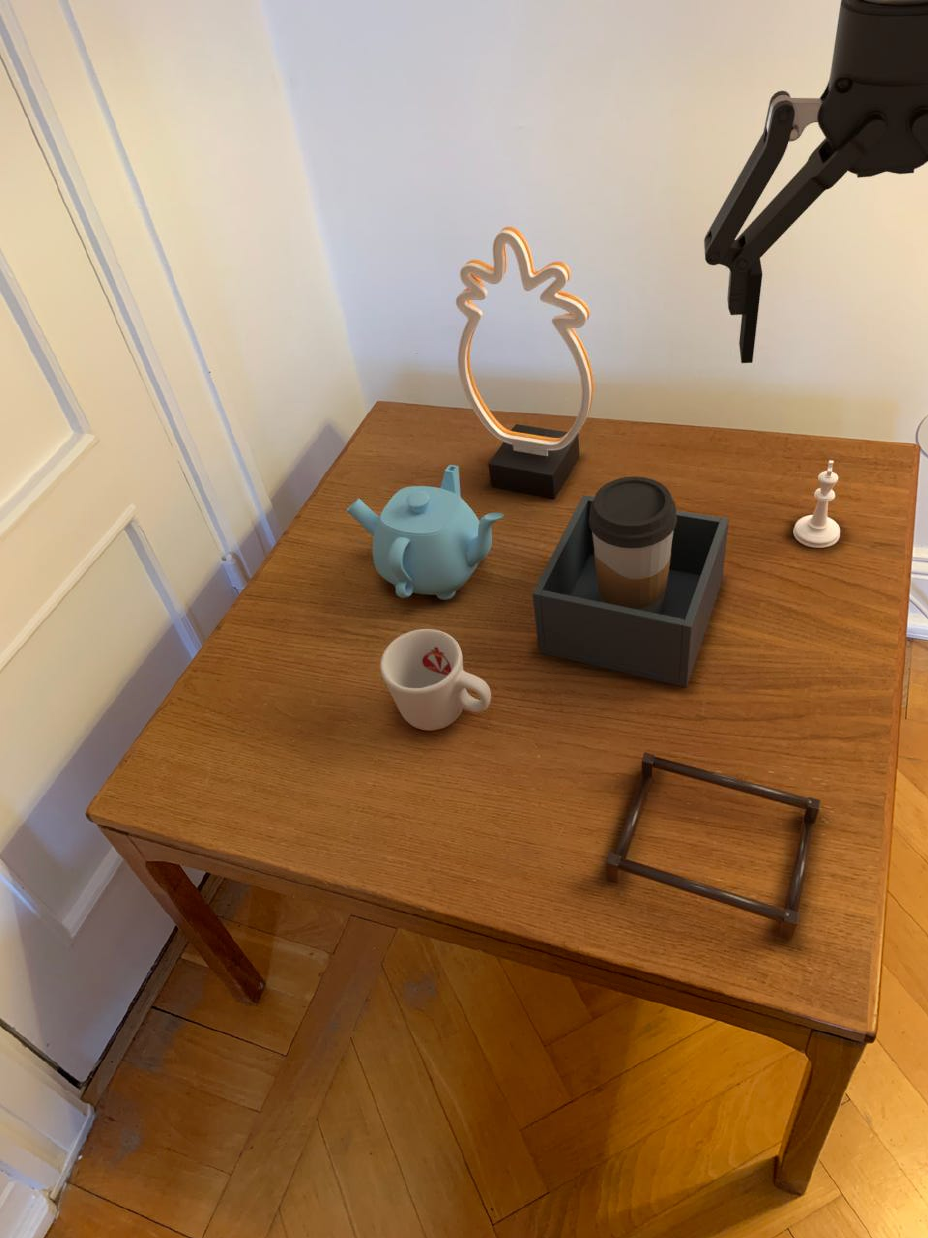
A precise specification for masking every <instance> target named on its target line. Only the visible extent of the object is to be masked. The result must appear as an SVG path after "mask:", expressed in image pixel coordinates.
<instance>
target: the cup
mask: <svg viewBox="0 0 928 1238" xmlns="http://www.w3.org/2000/svg"><path fill="white" fill-rule="evenodd" d="M463 659H464V657H463V652H462V648H461V646H460V645H459V643H458V641H457V640H456V639H455V638H454V637H453V636H451V634H449V633H447V632H444V631H441V630H439V629H433V628H421V629H419V628H418V629H414V630H410V631H408V632H406V633H403V634H401V635H399V636H398V637H396V638H395V639H394V640H392V641H391V643H389V644H388V646H387V647H386V648H385V649H384V651H383V653H382V655H381V658H380V662H379V668H380V669H379V670H380V671H379V672H380V674H381V677H382V680H383V682H384V683H385V686H386V687H387V690H388V692H389V694H390V695H391V697H392V700H393V701H394V703H395V705H396V708H397V709H398V711H399V712H400V714H401V716H402V718H403V719H404V720H405V722H407V723H408V724H409V725H410V726H412V727H413V728H416V729H419V730H421V731H422V730H423V731H429V732H430V731H437V730H441V729H445V728H446V727H448V726H450V725H452V724H453V723H454V722H455V721H457V719H458V718H459V716H460V715H461V714H462V712H463V710H467V711H470V712H474V713H482V712H485V711H486V710H487V709H488V707H489V705H490V704H491V701H492V691H491V689H490V686H489V685H488V683H487V682H486V681H485V680H484V679H482V678H481V677H479V676H477V675H474V674H472V673H469V672H467V671H465V670H464V660H463ZM467 689H468V690H471V691H473V692H475V693H476V694H477V696H479V698H480V699H477V698H475V697H473V696H471V694H470V693H469V692H468V690H467Z"/></svg>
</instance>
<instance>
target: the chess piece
mask: <svg viewBox="0 0 928 1238" xmlns="http://www.w3.org/2000/svg"><path fill="white" fill-rule="evenodd" d="M834 462H835V461H834V460H831V459H830V460H829V461H828V464H827V470H825V471H821V472H820V473H819V474H818V476H817V480H818V484H819V488H817V489H816V490H815V491H814V493H813V496H814V498H815V499H816V500H817V502H816V506H815V508H814V511H813V513H812V514H809V515H805V516H802V517H801V518H799V519H798V520H797V521H796V522H795V524H794V527H793V529H792V530H793V531H792V532H793V536H794V538H795V539H796V540H797V542H799V543H800V544H802V545H804V546H805V547H810V548H813V549H814V548H815V549H823V548H829V547H831V546H834V545H835V544H836V543H837V542H839V540H840V537H841V528H840V525H839V524H838V523H837V522H836V521H835V520H834V519H833V518H831V517H829V516H828V512H829V511H828V510H829V509H828V508H829V502H831V501H833V500H834V499H835V498H836V492H835V491H834V490H833V489H834V486H835V485H836V484H837V483H838V482H839V475H838V474H837V473H836V472H834V471H833V468H834Z"/></svg>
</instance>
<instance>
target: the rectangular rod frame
mask: <svg viewBox="0 0 928 1238" xmlns="http://www.w3.org/2000/svg"><path fill="white" fill-rule="evenodd" d="M656 769H657V770H661V771H664V772H668V773H672V774H674V775H679V776H683V777H686V778H690V779H693V780H696V781H697V780H698V781H701V782H703V783H707V784H712V785H715V786H719V787H722V788H725V789H730V790H733V791H736V792H737V791H738V792H741V793H744V794H748V795H751V796H754V797H759V798H762V799H766V800H769V801H773V802H776V803H780V804H784V805H788V806H791V807H795V808H798V809H802V810H804V812H803V815H802V819H801V825H800V831H799V836H798V841H797V845H796V851H795V856H794V861H793V866H792V870H791V875H790V880H789V885H788V890H787V895H786V900H785V905H784V908H781V907H778V906H774V905H772V904H768V903H766V902H763V901H759V900H756V899H753V898H749V897H746V896H743V895H740V894H737V893H734V892H731V891H728V890H724V889H722V888H719V887H716V886H712V885H710V884H706V883H703V882H701V881H700V882H699V881H697V880H693V879H691V878H688V877H684V876H681V875H678V874H675V873H672V872H669V871H665V870H663V869H659V868H655V867H653V866H650V865H647V864H644V863H641V862H637V861H634V860H631V859H628V858H627V856H628V852H629V850H630V846H631V844H632V840H633V837H634V834H635V831H636V828H637V826H638V822H639V820H640V817H641V813H642V811H643V807H644V804H645V801H646V799H647V795H648V792H649V790H650V787H651V784H652V782H653V780H654V777H655V774H656ZM640 773H641V774H640V778H639V781H638V783H637V787H636V790H635V792H634V796H633V797H632V798H633V799H632V801H631V804H630V807H629V810H628V813H627V815H626V819H625V821H624V824H623V827H622V830H621V833H620V836H619V838H618V841H617V845H616V848H615V850H614V853H613V852H611V851H610V852H609V853H608V856H607V859H606V861H605V862H606V863H605V864H606V865H605V867H606V869H605V871H606V879H607V880H608V881H612V882H615V883H619V881H620V878H621V875H622V872H625V873H628V874H631V875H634V876H637V877H640V878H644V879H647V880H649V881H652V882H656V883H659V884H663V885H666V886H668V887H671V888H674V889H677V890H680V891H684V892H687V893H690V894H693V895H696V896H699V897H702V898H705V899H708V900H711V901H714V902H718V903H720V904H724V905H727V906H729V907H732V908H736V909H738V910H741V911H744V912H748V913H750V914H754V915H757V916H760V917H763V918H765V919H770V920H773V921H774V922H775V921H776V922H778V923H781V924H780V928H779V933H778V937H780V938H784V939H787V940H789V941H793V938H794V936H795V933H796V930H797V927H798V924H799V918H800V912H799V909H800V904H801V903H800V902H801V898H802V893H803V889H804V883H805V877H806V873H807V867H808V862H809V858H810V857H809V856H810V853H811V852H810V851H811V847H812V841H813V836H814V831H815V830H814V829H815V825H816V822H817V820H818V819H817V818H818V816H819V812H820V808H821V803H822V800H821V799H818V798H815V797H811V796H808V797H806V796H803V795H799V794H795V793H792V792H788V791H784V790H780V789H778V788H773V787H769V786H765V785H762V784H758V783H755V782H751V781H748V780H744V779H740V778H736V777H733V776H729V775H726V774H722V773H718V772H714V771H712V770H711V771H710V770H707V769H704V768H700V767H696V766H693V765H688V764H685V763H681V762H678V761H674V760H671V759H667V758H663V757H660V756H656V754H653V753H650V752H646V751H645V752H644V753H643V756H642V759H641V772H640Z"/></svg>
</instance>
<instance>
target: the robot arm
mask: <svg viewBox="0 0 928 1238" xmlns="http://www.w3.org/2000/svg"><path fill="white" fill-rule="evenodd" d="M833 46H834V47H833V52H832V53H833V54H832V61H831V68H830V74H829V77H828V78H829V79H828V82H827V85H826V87H825V89H824V90H823V92H822V94H821V96H820V97H819V98H818V97H817V98H816V97H791V94H790V93H789V92H788V91H787V90H778V91H776V92H775V93H773V95H772V96H771V97H770V100H769V103H768V107H767V112H766V118H765V123H764V127H763V131H762V134H761V135H760V137H759V139H758V141H757V143H756V144H755V146H754V148H753V150H752V151H751V154H750V155H749V157H748V158H747V161H746V163H745V164H744V166H743V168H742V170H741V171H740V173H739V175H738V177H737V178H736V180H735V182H734V184H733V185H732V188H731V189H730V191H729V193H728V195H727V196H726V199H725V200H724V202H723V204H722V206H720V209H719V211H718V213H717V215H716V216H715V217H714V220H713V221H712V224H711V225H710V227H709V229H708V230H707V232H706V234H705V236H704V238H703V249H704V259H705V262H706V263H707V264H708V265H709V266H717V265H722V266H724V267H726V268H727V269H728V270H729V272H728V273H729V274H728V275H729V276H728V286H727V308H728V311H729V314H730V316H741V319H740V320H741V322H740V330H739V340H738V341H739V342H738V345H739V355H740V363H741V364H752V363H753V362H754V361H753V360H754V353H755V342H756V336H757V328H758V327H757V326H758V319H759V318H758V317H759V307H760V301H761V300H760V299H761V290H762V280H763V268H762V263H761V258H762V257H763V256H764V255H765V254H766V252H767V251H769V250H770V248H771V247H772V246H773V245H774V244H775V243H776V242H777V241H778V240H780V238H781V237H782V236H783V235H784V234H785V233H786V232H787V231H788V230H789V229H790V228H791V226H792V225H794V224H795V222H797V220H798V219H799V218H800V217H801V216H802V215H803V214H804V213H805V212H806V211H807V210H808V209H809V208H810V207H811V205H813V204H814V202H816V200H817V199H819V198H820V196H821V195H822V194H823V193H824V192H825V191H827V190H830V189H832V188H833V187H834V186H835V185H836V184H837V183H838V182H839V181H840V180H841V179H842V178H843V177H844V176H845V175H846V174H847V173H848V172H849V173H851V174H854V175H856V177H857V178H858V179H859V178H870V177H871V178H872V177H874V176H877V175H880V174H883V173H891V174H896V175H906V174H908V175H909V174H914V173H915V170H916V169H919V168H921V167H923V166H924V165H925V164H928V0H840V5H839V12H838V19H837V26H836V33H835V39H834V45H833ZM814 123H817V125H818V127H819V129H820V130H821V132H822V134H823V136H824V137H825V138H824V139H823V140H822V141H821V142H820V144H818V145H817V146H816V148H815V149H814V150H813V151H812V153H810V155H809V156H808V158H807V160H806V162H805V164H804V165H803V166H802V167H801V168H800V169H799V170H798V171H797V173H795V175H794V176H793V177H792V178H791V179H790V180H789V181H788V182H787V184H786V185H785V186H784V187H783V188H782V189H781V190H780V191H779V192H778V193H777V195H776V196H775V197H774V198H772V200H771V201H770V202H769V203H768V205H766V207H764V208H763V209H762V211H761V212H760V213H759V214H758V215H757V217H755V218H754V219H753V220H752V221H751V223H750V224H749V225H748V226H747V227H746V228H745V229H744V230H743V231H742V232H741V230H742V228H743V227H744V225H745V223H746V221H747V219H748V218H749V216H750V215H751V212H753V209H754V208H755V206H756V204H757V202H758V201H759V198H760V197H761V195H762V194H763V192H764V191H765V189H766V187H767V185H769V182H770V180H771V179H772V176H773V175H774V174H775V172H776V171H777V169H778V167H779V165H780V164H781V162H782V160H783V158H784V155H785V153H786V151H787V148H788V145H789V142H790V143H791V142H795V141H797V140H798V139H800V137H802V134H803V133H804V131H805V129H806V128H807V127H808V126H809V125H811V124H814ZM740 232H741V234H739V233H740ZM738 235H739V236H738Z"/></svg>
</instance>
